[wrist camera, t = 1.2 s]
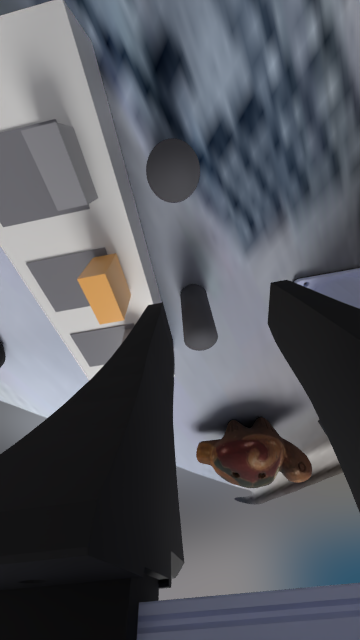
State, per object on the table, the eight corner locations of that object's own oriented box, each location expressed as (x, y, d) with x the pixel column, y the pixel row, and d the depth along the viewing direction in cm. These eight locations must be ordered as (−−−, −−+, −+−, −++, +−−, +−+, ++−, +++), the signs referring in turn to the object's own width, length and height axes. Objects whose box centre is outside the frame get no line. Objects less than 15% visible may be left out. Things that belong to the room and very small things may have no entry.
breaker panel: (91, 41, 12) (35, -41, 7) (174, 347, 24) (175, 394, 20) (-49, 80, 12) (-193, 29, 7) (104, 358, 25) (88, 407, 20)
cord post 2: (204, 282, 20) (216, 322, 15) (207, 304, 21) (218, 347, 17) (178, 286, 20) (181, 328, 15) (182, 308, 22) (186, 352, 17)
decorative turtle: (293, 432, 37) (314, 492, 31) (203, 442, 40) (206, 498, 34) (295, 402, 31) (323, 469, 25) (189, 416, 34) (190, 479, 28)
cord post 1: (186, 140, 14) (195, 132, 9) (192, 184, 15) (202, 197, 11) (149, 149, 14) (139, 145, 9) (158, 191, 16) (153, 207, 11)
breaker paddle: (116, 253, 14) (105, 273, 11) (131, 294, 16) (124, 320, 13) (92, 257, 14) (77, 279, 11) (110, 298, 16) (99, 324, 13)
